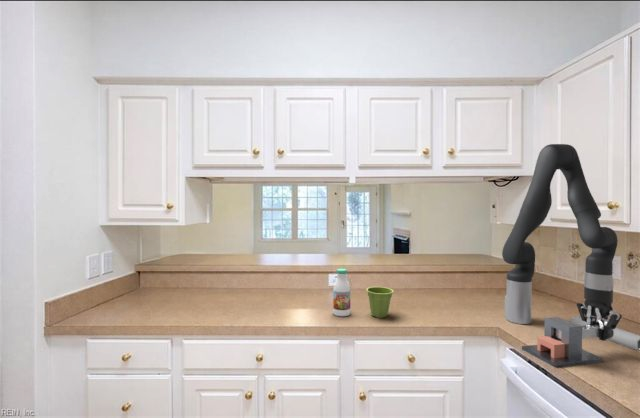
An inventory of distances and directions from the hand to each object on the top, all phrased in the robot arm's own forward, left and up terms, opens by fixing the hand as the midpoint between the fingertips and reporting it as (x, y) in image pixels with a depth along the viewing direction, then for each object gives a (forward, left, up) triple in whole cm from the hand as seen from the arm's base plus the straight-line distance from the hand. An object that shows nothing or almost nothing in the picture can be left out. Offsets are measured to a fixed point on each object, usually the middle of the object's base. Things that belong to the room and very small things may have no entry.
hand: (597, 337), depth 114 cm
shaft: (0, -6, 0) cm, 6 cm away
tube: (-10, +15, -5) cm, 18 cm away
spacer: (0, -18, -2) cm, 19 cm away
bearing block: (0, -14, -5) cm, 15 cm away
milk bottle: (-54, -74, -5) cm, 92 cm away
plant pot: (-49, -58, -5) cm, 76 cm away
